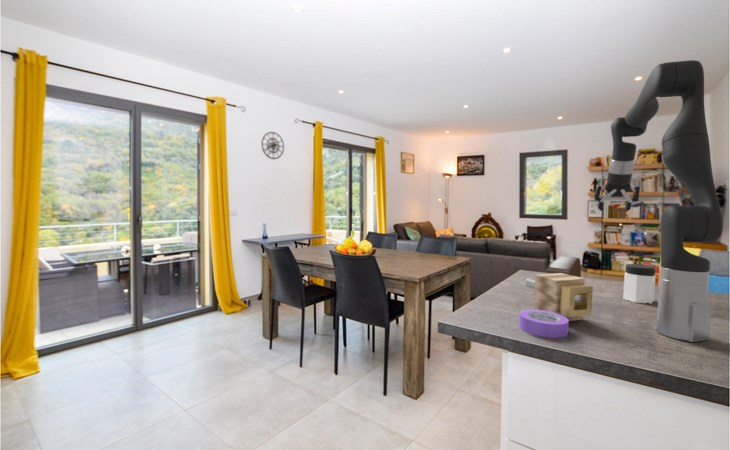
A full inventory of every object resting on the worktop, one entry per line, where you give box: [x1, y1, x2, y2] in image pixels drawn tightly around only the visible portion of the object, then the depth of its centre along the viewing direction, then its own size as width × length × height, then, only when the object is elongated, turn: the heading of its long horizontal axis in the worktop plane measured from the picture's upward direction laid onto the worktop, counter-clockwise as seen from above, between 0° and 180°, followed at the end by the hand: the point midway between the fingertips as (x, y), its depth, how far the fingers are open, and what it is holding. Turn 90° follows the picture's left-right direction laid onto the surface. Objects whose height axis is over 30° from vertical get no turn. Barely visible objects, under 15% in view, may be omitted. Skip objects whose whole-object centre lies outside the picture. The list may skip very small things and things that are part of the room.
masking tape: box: [518, 309, 570, 339], centre depth 94 cm, size 12×12×4 cm
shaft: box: [524, 277, 584, 304], centre depth 106 cm, size 19×3×3 cm, turn 17°
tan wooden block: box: [533, 272, 585, 322], centre depth 104 cm, size 8×10×12 cm
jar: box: [622, 263, 657, 305], centre depth 121 cm, size 9×8×12 cm
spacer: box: [560, 283, 594, 317], centre depth 98 cm, size 3×8×8 cm, turn 107°
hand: (613, 210), depth 141 cm, fingers open, 8 cm apart
